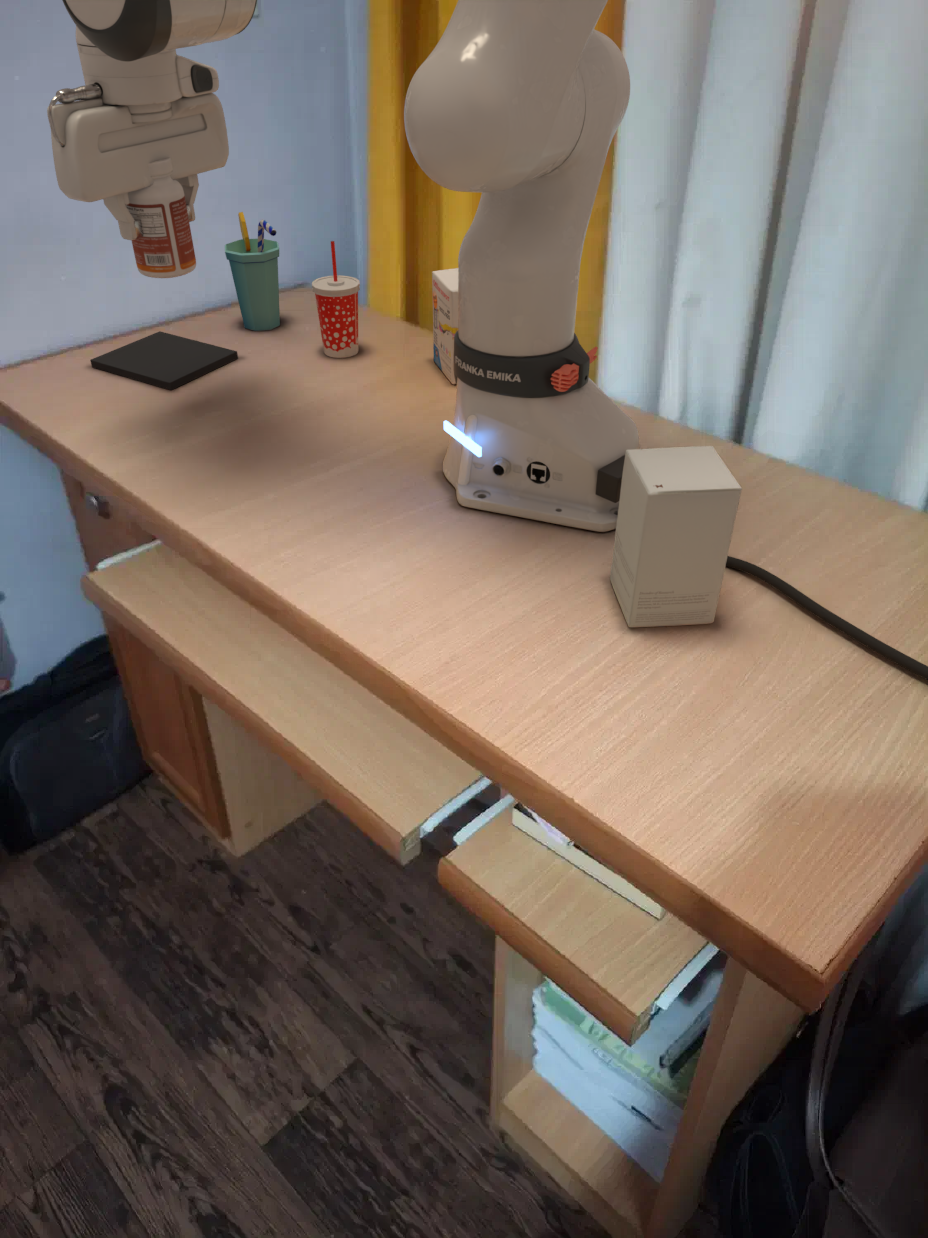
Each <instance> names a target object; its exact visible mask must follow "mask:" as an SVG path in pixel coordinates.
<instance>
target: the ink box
mask: <svg viewBox="0 0 928 1238" xmlns="http://www.w3.org/2000/svg"><path fill="white" fill-rule="evenodd" d="M431 279H432V280H431V283H432V284H431V286H432V288H431V289H432V322H433V323H432V327H433V328H432V340H433V342H432V343H433V344H432V345H433V346H432V347H433V362H434V363H435V364H436V366H437V367H438V368H439V369H440V371H441V372H442V373H443V374H444V376H445V377H446V379H448V381H449V382H450V383H451V384H452V385H456V382H455V377H454V336H455V333H456V332H457V331H458V267H455V268H448V269H447V268H446V269H439V270H433V271H431Z"/></svg>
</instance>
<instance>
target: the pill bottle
mask: <svg viewBox="0 0 928 1238" xmlns="http://www.w3.org/2000/svg"><path fill="white" fill-rule="evenodd" d="M148 165H149V171H150V176H152V177H151V178H152V179H154V183H153V185H151V186H150V187H147V188H143V189H139V190H135V191H132V192H128V197H129V204H128V205H125V206H126V208H127V209H128V211H129V212H130V214H131V215H132V217H133V218H134V219H140V220H141V223H142V230H143V233H144V235H143V237H140V238H137V239H135V240H131V244H132V249H133V255H134V259H135V264H136V268H137V271H138V272H139V273H140V275H143V276H145V277H147V278H151V279H153V278H154V279H174V278H178V277H182V276H185V275H187V274H190V273H191V272H194V270H195V269H196V266H197V259H196V258H197V257H196V253H195V247H194V241H193V236H192V231H191V230H192V229H191V224H190V222H189V218H188V213H187V207H186V201H185V196H184V191H183V188H182V186H181V184H180V183H179V182H178V181H176V180H172V179H171V177H170V175H171V174H172V173H173V172H172V170H173V167H172V163H171V158H166V159H162V160H158V161H155V162H151V163H149V164H148Z"/></svg>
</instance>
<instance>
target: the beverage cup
mask: <svg viewBox="0 0 928 1238" xmlns="http://www.w3.org/2000/svg"><path fill="white" fill-rule="evenodd" d="M330 250H331V264H332V275H326V276H322V277H321V276H320V277H319V278H315V279H314V280H313V281H312V282H311V289H312V292H313V293H314V296H315V297H314V298H315V303H316V309H317V315H318V321H319V328H320V336H321V341H322V348H323V353H324V355H326V356H327V357H329V358H333V359H334V358H336V359H343V358H350V357H354V356H356V355H357V354H358V353H359V291H361V290H360V289H361V288H360V287H361V282H360V280H359V279H358V278H357V277H353V276H349V275H339V274H338V269H337V257H336V244H335V240H331V241H330Z"/></svg>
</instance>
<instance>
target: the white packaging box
mask: <svg viewBox="0 0 928 1238" xmlns="http://www.w3.org/2000/svg"><path fill="white" fill-rule="evenodd" d="M742 490H743V488H742V486H741V485H740V483H739V482H738V480H737V479H736V478H735V476H734V475H733V473H732V471H730V469H729V467H728V466H727V465H726V463H725V462H724V460H723V459H722V458H721V456H720V455H719V453H718V451H717V450H716V448H715V447H714V446H713V445H697V446H696V445H695V446H694V445H693V446H675V447H674V446H671V447H654V448H651V447H650V448H640V449H632V450H626V453H625V460H624V467H623V475H622V483H621V491H620V500H619V509H618V517H617V525H616V529H615V534H614V544H613V553H612V559H611V565H610V575H609V581H610V583H611V586H612V589H613V591H614V594H615V597H616V599H617V602H618V604H619V607H620V609H621V612H622V614H623V616H624V619H625V622H626V624H627V627H628V628H649V627H650V628H651V627H671V626H672V627H675V626H690V625H691V626H694V625H709V624H710V625H711V624H713V623H714V622H715V617H716V615H717V608H718V604H719V599H720V596H721V595H720V594H721V591H722V585H723V580H724V576H725V570H726V567H727V566H726V561H727V557H728V556H729V551H730V546H731V542H732V536H733V533H734V527H735V522H736V518H737V513H738V508H739V505H740V504H739V503H740V500H741V493H742Z"/></svg>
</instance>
